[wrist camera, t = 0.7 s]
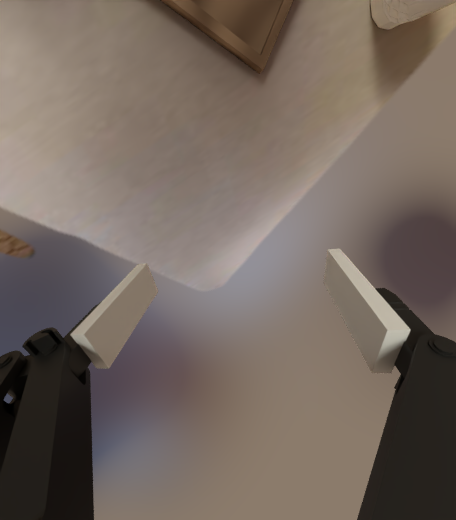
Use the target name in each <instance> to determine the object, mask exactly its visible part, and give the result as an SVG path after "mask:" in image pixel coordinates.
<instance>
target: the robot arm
mask: <svg viewBox="0 0 456 520" xmlns="http://www.w3.org/2000/svg"><path fill="white" fill-rule="evenodd" d="M324 285H325V287H326V288H327V290H328V292H329V294H330V296H331V298H332V299H333V301H334V303H335V305H336V307H337V309H338V311H339V313H340V315H341V316H342V318H343V320H344V322H345V324H346V326H347V328H348V329H349V331H350V333H351V335H352V337H353V339H354V341H355V343H356V344H357V346H358V348H359V350H360V352H361V354H362V356H363V357H364V359H365V361H366V363H367V365H368V367H369V369H370V371H371V373H391V372H392V370H393V367H394V366H396V367H397V369H398V370H399V372H400V373H401V375H400V377H399V379H398V381H397V383H396V385H395V387H394V388H395V389H396V390H395V394H394V397H393V400H392V404H391V407H390V410H389V414H388V417H387V421H386V424H385V427H384V431H383V434H382V437H381V441H380V445H379V448H378V451H377V454H376V458H375V461H374V464H373V468H372V471H371V475H370V478H369V481H368V485H367V488H366V491H365V495H364V498H363V502H362V505H361V508H360V512H359V515H358V519H357V520H456V343H455V342H454V341H452V340H450V339H448V338H445V337H442V336H439V335H435V334H434V333H433V332H432V331H431V330H430V329H429V328H428V327H427V326H426V325H425V324H424V323H423V322H422V321H421V320H420V319H419V318H418V317H417V316H416V315H415V314H414V313H413V312H412V311H411V310H409V308H408V307H407V306H406V305H405V304H404V303H403V302H402V301H401V300H400V299H399V298H398V297H397V296H396V295H395V294H394V293H392V292H390V291H389V290H387V289H385V288H378V289H375V288H374V287H373V286H372V285H371V284H370V283H369V281H368V280H367V279H366V278H365V277H364V276H363V275H362V274H361V272H360V271H359V270H358V269H357V268H356V267H355V265H354V264H353V263H352V262H351V261H350V260H349V259H348V258H347V256H346V255H345V254H344V253H343V252H342V251H341V250H340V249H330V250H327V258H326V267H325V275H324ZM157 293H158V289H157V287H156V285H155V282H154V279H153V277H152V275H151V272H150V270H149V267H148V265H147V264H138V265H137V266H136V267H135V268H134V269H133V270H132V271H131V272H130V273H129V274H128V275H127V276H126V277H125V279H123V280H122V281H121V283H120V284H119V285H118V286H117V287H116V288H115V289H114V290H113V291H112V292H111V293H110V294H109V295H108V296H107V297H106V298H105V299H104V300H103V301H102V302H101V303H99V304H98V305H96V306H95V307H93V309H91V311H90V312H89V313H88V315H86V316H85V317H84V318H83V320H81V321H80V322H79V323H78V324H77V325H76V326H75V327H74V328H73V329H72V330H71V331H70V332H69V333H68V334H67V335H66V336H65V337H64V338H63V337H62V336H61V335H60V334H59V332H58V331H57V330H56V329H55V328H46V329H44V330H41V331H39V332H37V333H35V334H34V335H33V336H31V337H30V338H29V339H28V340H27V341H25V343H24V344H23V348H24V349H25V350H26V351H28V353H29V354H30V355H28V356H24V355H23V354H22V353H21V352H20V351H12V352H9V353H7V354H5V355H2V356H1V357H0V520H94V510H93V509H94V506H93V472H92V471H93V467H92V430H91V393H90V371H89V369H88V366H89V364H90V363H91V362H92V363H93V364H94V365H95V367H96V368H109V367H110V366H111V364H112V363H113V361H114V360H115V358H116V356H117V355H118V353H119V352H120V350H121V349H122V347H123V346H124V344H125V343H126V341H127V339H128V338H129V336H130V335H131V333H132V332H133V330H134V328H135V327H136V325H137V323H138V322H139V321H140V319H141V318H142V316H143V314H144V313H145V311H146V310H147V308H148V307H149V305H150V304H151V302H152V300H153V299H154V297H155V296H156V294H157ZM7 393H8V394H9V395H10V396H12V397H13V399H12V401H11V402H10V403H9V404H8V403H6V402H5V401H4V397H5V396H6V394H7Z"/></svg>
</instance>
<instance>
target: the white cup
mask: <svg viewBox="0 0 456 520" xmlns="http://www.w3.org/2000/svg"><path fill="white" fill-rule="evenodd" d="M453 3H456V0H371V1H370V4H371V13H372V18H373V20H374V22H375V23H376V25H377V26H378V27H379V28H383V29H387V30H390V29H392V28H394V27H396V26H399V25H401V24H403V23H406V22H411V21H413V20H416V19H418V18H421V17H423V16H426V15H428V14H431V13H433V12H436V11H438V10H440V9H442V8H444V7H446V6H449V5H451V4H453Z"/></svg>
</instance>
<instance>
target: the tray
mask: <svg viewBox="0 0 456 520" xmlns="http://www.w3.org/2000/svg"><path fill="white" fill-rule="evenodd" d="M160 1H162V2H163V3H164V4H166V5H167V6H169V7H170V8H171V9H173V10H174V11H175V12H177V13H178V14H179V15H181V16H182V17H183V18H185V19H186V20H187V21H189V22H190V23H191V24H193V25H194V26H195V27H197V28H198V29H200V30H201V31H202V32H204V33H205V34H206V35H208V36H209V37H210V38H212V39H213V40H214V41H216V42H217V43H218V44H220V45H221V46H222V47H224V48H225V49H226V50H228V51H229V52H231V53H232V54H233V55H235V56H236V57H237V58H239V59H240V60H241V61H243V62H244V63H245V64H247V65H248V66H249V67H251V68H252V69H253V70H255V71H256V72H258V73H259V74H260V73H261V72H262V71H263V70H264V68H265V65H266V63H267V61H268V58H269V56H270V54H271V51H272V49H273V47H274V44H275V42H276V40H277V37H278V35H279V33H280V30H281V28H282V26H283V23H284V21H285V19H286V16H287V14H288V12H289V9H290V7H291V5H292V2H293V0H160Z"/></svg>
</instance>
